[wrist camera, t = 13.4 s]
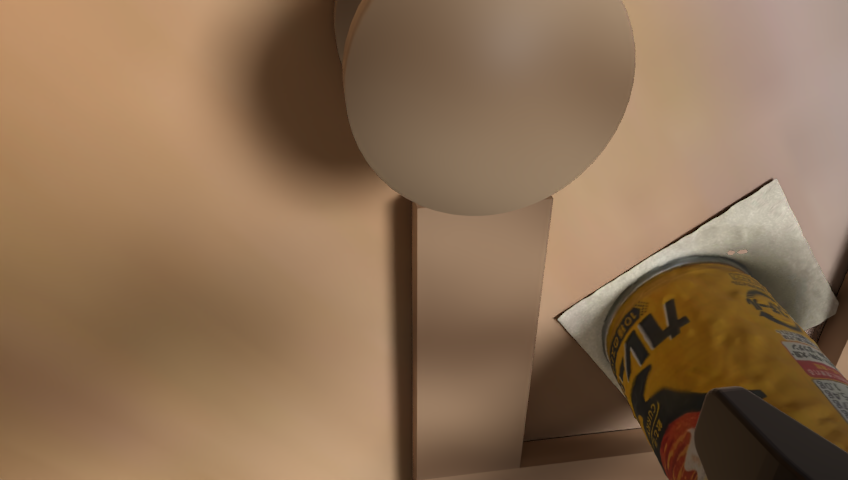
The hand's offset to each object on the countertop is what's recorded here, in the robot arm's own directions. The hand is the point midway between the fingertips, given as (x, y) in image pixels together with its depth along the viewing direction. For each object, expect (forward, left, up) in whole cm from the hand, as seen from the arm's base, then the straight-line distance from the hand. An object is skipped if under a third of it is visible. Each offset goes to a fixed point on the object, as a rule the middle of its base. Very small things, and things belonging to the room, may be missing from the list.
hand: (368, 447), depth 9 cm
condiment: (-9, -13, -13) cm, 20 cm away
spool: (+2, -3, -12) cm, 13 cm away
